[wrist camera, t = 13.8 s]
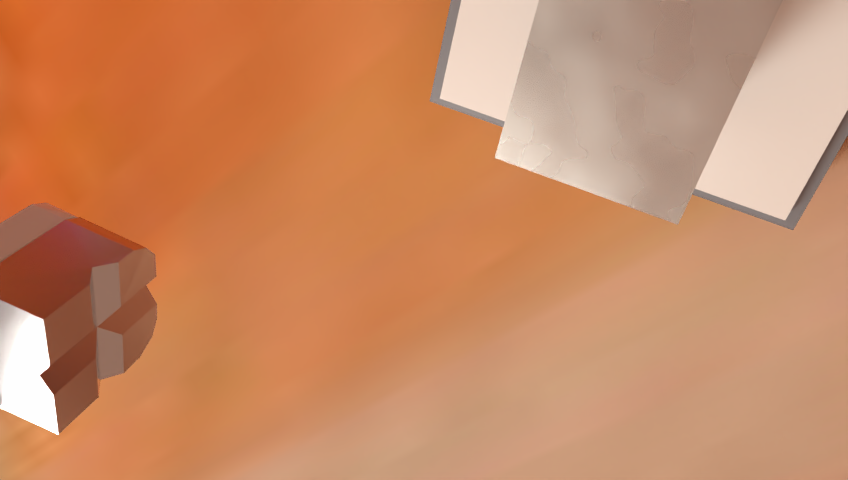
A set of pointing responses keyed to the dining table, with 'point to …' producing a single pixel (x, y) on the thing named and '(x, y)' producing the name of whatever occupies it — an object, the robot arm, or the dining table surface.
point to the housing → (631, 94)
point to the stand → (747, 122)
